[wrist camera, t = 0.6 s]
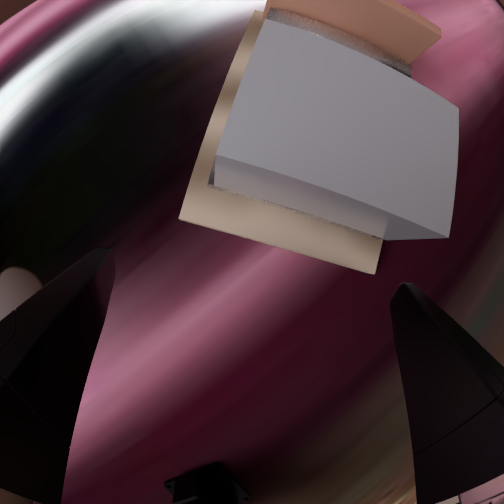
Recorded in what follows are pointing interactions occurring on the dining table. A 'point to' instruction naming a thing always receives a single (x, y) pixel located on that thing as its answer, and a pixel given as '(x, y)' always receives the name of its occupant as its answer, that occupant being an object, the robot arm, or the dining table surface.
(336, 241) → the track board
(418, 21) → the tan rectangular panel
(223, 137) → the slab
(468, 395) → the robot arm
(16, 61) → the dining table surface
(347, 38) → the rollers
